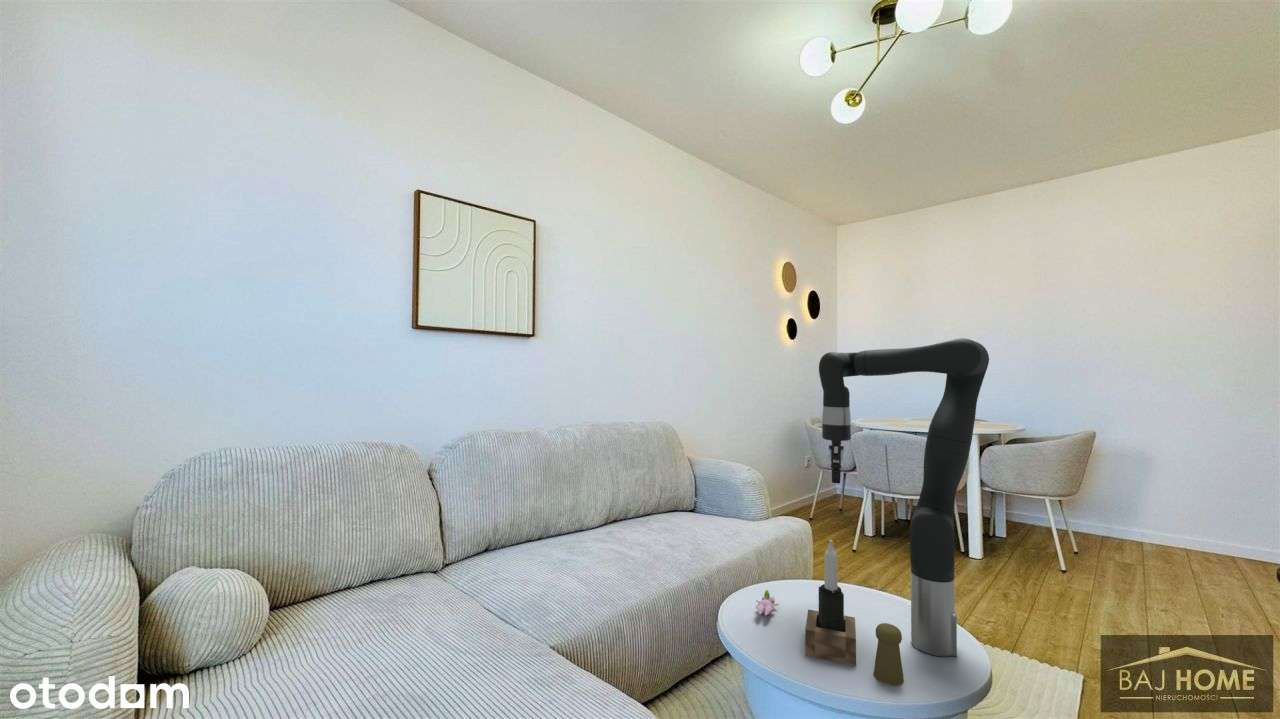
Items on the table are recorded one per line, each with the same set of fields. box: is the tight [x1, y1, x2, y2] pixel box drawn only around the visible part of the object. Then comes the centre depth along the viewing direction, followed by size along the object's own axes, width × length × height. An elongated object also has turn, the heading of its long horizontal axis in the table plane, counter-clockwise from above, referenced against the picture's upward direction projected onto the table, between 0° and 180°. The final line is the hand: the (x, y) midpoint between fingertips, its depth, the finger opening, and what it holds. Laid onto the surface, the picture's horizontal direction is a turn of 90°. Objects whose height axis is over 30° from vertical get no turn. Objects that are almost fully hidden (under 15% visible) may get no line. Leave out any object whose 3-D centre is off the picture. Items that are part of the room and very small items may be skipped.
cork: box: [873, 622, 905, 687], centre depth 111 cm, size 6×6×11 cm
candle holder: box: [804, 609, 857, 667], centre depth 123 cm, size 11×11×6 cm
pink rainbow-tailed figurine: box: [755, 589, 780, 616], centre depth 141 cm, size 6×6×15 cm
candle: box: [818, 539, 845, 632], centre depth 123 cm, size 5×5×25 cm
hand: (836, 480), depth 144 cm, fingers open, 8 cm apart
